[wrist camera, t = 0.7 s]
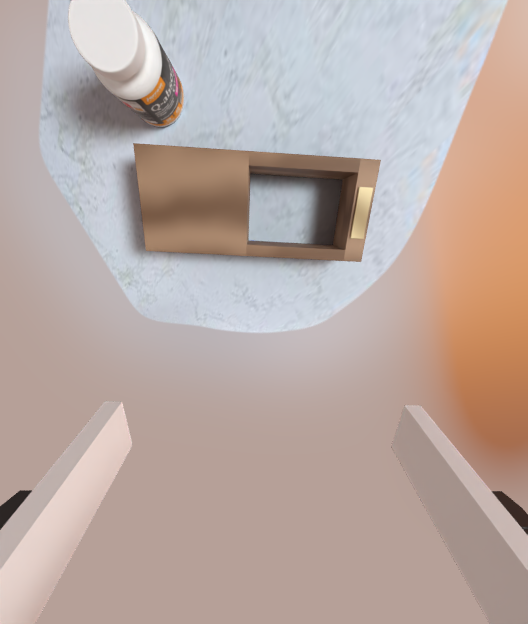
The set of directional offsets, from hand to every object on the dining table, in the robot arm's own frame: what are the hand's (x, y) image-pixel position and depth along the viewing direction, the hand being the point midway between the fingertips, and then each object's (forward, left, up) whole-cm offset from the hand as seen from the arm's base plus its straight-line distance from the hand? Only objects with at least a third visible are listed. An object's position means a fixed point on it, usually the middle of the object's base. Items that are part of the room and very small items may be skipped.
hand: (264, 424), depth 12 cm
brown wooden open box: (-10, -1, -24) cm, 26 cm away
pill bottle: (-21, -12, -24) cm, 34 cm away
